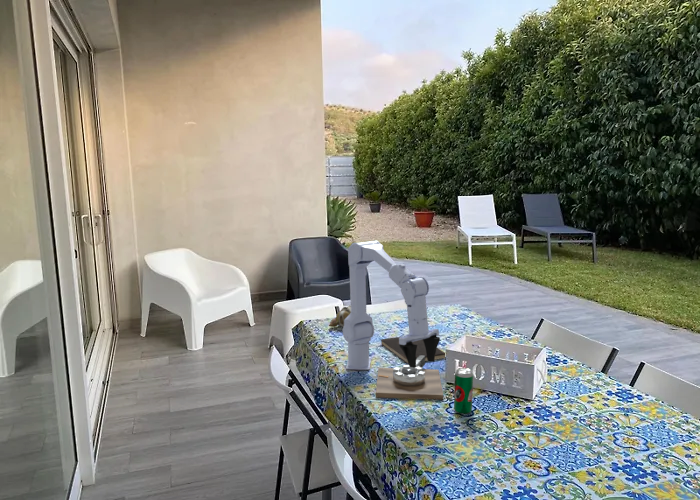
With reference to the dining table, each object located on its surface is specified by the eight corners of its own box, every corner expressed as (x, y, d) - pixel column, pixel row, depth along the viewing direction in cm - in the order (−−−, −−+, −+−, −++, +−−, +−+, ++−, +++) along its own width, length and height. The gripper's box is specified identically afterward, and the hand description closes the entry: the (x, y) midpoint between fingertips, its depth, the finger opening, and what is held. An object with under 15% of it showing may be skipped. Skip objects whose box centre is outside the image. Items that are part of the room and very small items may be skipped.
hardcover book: (407, 365, 195) (407, 359, 195) (380, 345, 216) (380, 339, 216) (447, 359, 201) (447, 353, 201) (417, 340, 222) (417, 334, 222)
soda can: (472, 415, 157) (473, 374, 155) (453, 414, 158) (454, 373, 156) (471, 407, 161) (473, 368, 159) (453, 406, 162) (455, 366, 160)
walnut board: (378, 372, 188) (378, 367, 188) (438, 373, 186) (438, 369, 186) (375, 397, 168) (375, 392, 168) (443, 399, 167) (443, 394, 166)
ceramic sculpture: (361, 302, 242) (351, 314, 228) (362, 321, 244) (352, 334, 230) (338, 301, 245) (326, 312, 232) (338, 319, 247) (327, 332, 233)
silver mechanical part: (419, 388, 171) (419, 377, 170) (388, 383, 175) (388, 372, 174) (436, 367, 188) (437, 357, 187) (408, 362, 192) (408, 353, 191)
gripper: (409, 324, 159) (413, 371, 159) (444, 315, 167) (448, 360, 168) (392, 322, 164) (396, 368, 165) (427, 314, 173) (431, 357, 173)
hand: (421, 364), depth 167 cm, fingers open, 7 cm apart
